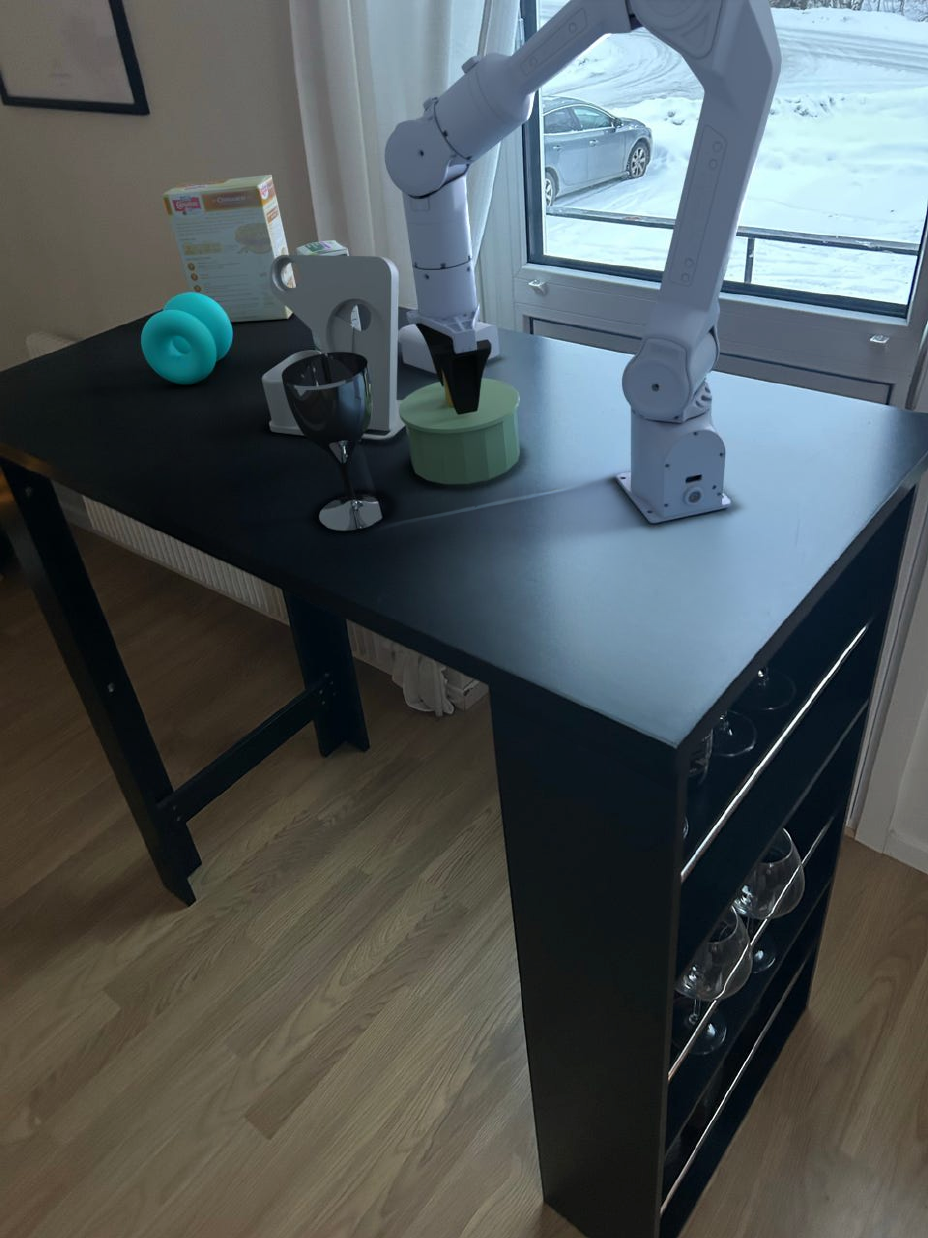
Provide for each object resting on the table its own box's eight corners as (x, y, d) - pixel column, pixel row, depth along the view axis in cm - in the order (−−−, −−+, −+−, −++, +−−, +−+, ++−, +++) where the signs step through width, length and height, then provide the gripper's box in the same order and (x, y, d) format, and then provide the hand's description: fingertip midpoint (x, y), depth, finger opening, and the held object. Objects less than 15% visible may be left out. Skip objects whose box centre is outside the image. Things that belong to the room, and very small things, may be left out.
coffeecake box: (301, 304, 148) (273, 173, 137) (288, 319, 143) (258, 184, 131) (213, 310, 151) (179, 181, 139) (198, 325, 145) (160, 193, 134)
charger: (427, 336, 130) (500, 358, 121) (376, 357, 126) (447, 382, 116) (423, 302, 128) (497, 322, 118) (370, 323, 123) (442, 345, 113)
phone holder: (263, 430, 111) (223, 278, 100) (308, 396, 118) (276, 250, 107) (388, 445, 104) (360, 282, 93) (429, 407, 111) (407, 252, 100)
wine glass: (354, 485, 97) (326, 346, 88) (409, 503, 92) (386, 359, 84) (298, 519, 92) (263, 377, 83) (354, 540, 88) (323, 392, 79)
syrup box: (315, 353, 130) (292, 246, 121) (354, 343, 131) (334, 237, 123) (327, 366, 125) (304, 256, 117) (367, 355, 127) (348, 245, 118)
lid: (534, 424, 91) (531, 378, 88) (411, 448, 89) (404, 403, 86) (502, 379, 100) (499, 336, 98) (391, 400, 99) (384, 358, 96)
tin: (532, 475, 94) (528, 417, 91) (424, 497, 93) (415, 439, 89) (504, 430, 104) (499, 376, 100) (405, 450, 102) (396, 395, 98)
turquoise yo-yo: (243, 357, 132) (224, 286, 126) (221, 385, 124) (200, 311, 118) (177, 361, 133) (155, 292, 127) (151, 390, 125) (127, 317, 119)
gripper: (388, 248, 91) (408, 378, 99) (414, 289, 80) (434, 433, 88) (457, 236, 92) (471, 366, 100) (492, 275, 80) (505, 419, 89)
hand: (458, 397), depth 94 cm, fingers open, 7 cm apart
